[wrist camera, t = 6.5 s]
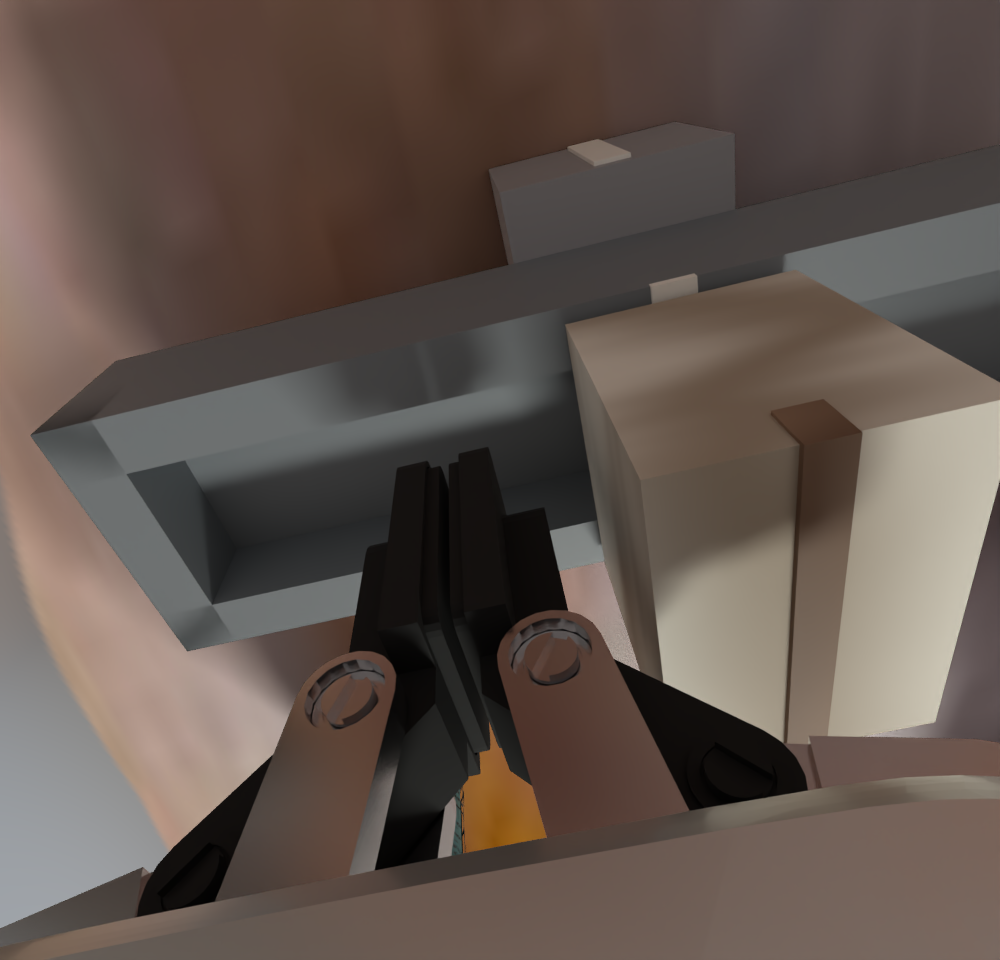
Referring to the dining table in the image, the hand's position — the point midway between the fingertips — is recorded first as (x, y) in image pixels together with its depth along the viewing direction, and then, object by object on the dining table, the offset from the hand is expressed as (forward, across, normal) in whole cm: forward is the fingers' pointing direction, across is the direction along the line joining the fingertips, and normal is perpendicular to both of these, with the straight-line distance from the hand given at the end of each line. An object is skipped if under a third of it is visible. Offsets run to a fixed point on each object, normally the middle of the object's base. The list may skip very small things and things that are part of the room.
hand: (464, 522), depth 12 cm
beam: (+9, -4, 0) cm, 10 cm away
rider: (+3, -5, 0) cm, 6 cm away
